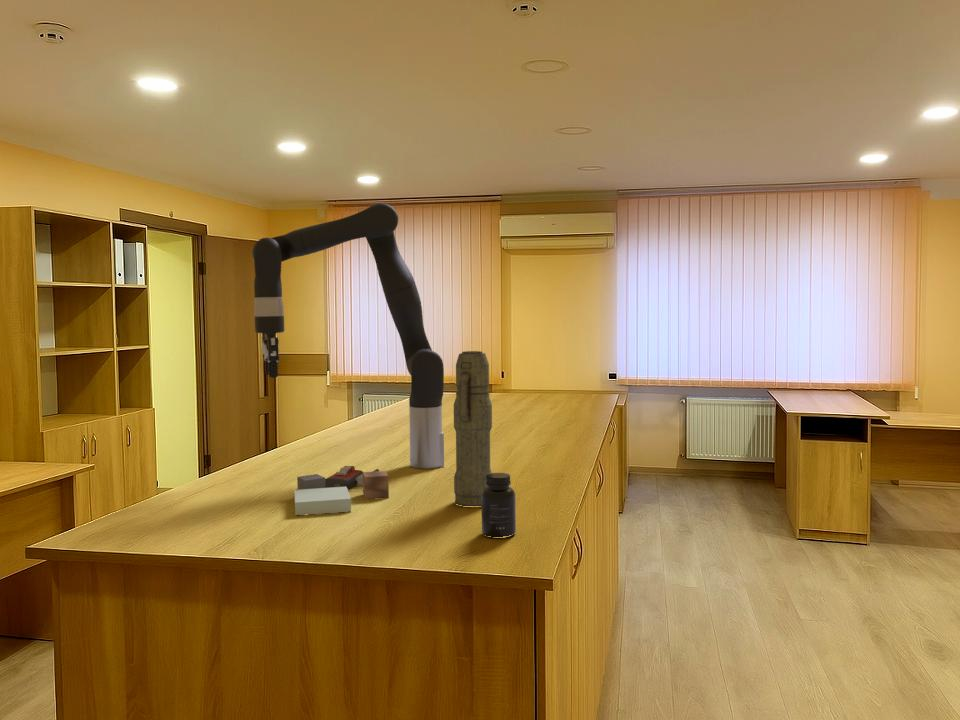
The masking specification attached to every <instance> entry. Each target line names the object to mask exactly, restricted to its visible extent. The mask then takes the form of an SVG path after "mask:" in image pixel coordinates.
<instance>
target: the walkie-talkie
mask: <svg viewBox="0 0 960 720" xmlns="http://www.w3.org/2000/svg"><path fill="white" fill-rule="evenodd" d="M355 468H356V467H355V465H345V466H343V467H341V468H340V469H339V471H336V472H335V473H334V474H332V475H330V476H328V477H327V478H326V477H325V488H331V487H347V489H349V490H350V489H352V488H354V487H355V486H362V485H361V484H363V472H364V471H363V470H361V469H360V470H359V469H355ZM375 471H380V470H379V469H378V468H376V469H375V470H372V472H375ZM353 486H354V487H353Z"/></svg>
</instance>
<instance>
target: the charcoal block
mask: <svg viewBox="0 0 960 720" xmlns="http://www.w3.org/2000/svg"><path fill="white" fill-rule="evenodd" d="M325 479H326V477H325V476H322V475H320V474H317V473H313V474H308V475H300V476H299V475H298V476H297V478H296V480H297V481H296V482H297V483H296V484H297V485H296V486H297V490H301V489H316V488H325Z"/></svg>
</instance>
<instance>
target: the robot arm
mask: <svg viewBox="0 0 960 720" xmlns="http://www.w3.org/2000/svg"><path fill="white" fill-rule="evenodd" d="M398 215H399V214H398V212H397V211H396V209H395V208H394V207H393V206H392V205H389V204H388V203H383V202H379V203H378V202H377V203H373V204H372V205H370V206H368V207H367V208H365V209H364V210H360V211H359V212H357V213H354V214H351V215H348V216H345V217H343V218H338V219H334V220H331V221H327V222H323V223H322V222H321V223H318V224H314V225H310V226H306V227H302V228H298V229H295V230H292V231H290V232H287V233H286V234H282V235H281V234H280V235H277V236H274V237H262V238H260V239H258V240H257V241H256V242H255V244H254V245H253V247H252V250H251V254H252V258H253V260H254V273H255V275H254V276H255V277H254V281H253V284H254V285H253V288H254V289H253V290H254V303H253V310H254V311H253V317H254V333H257V334H264V335H263V336H262V340H261V345H262V346H261V347H262V358H263V360H264V364H265V370H264V371H265V374H266V376H268V377H270V378H277V377H279V374H278V373H279V371H278V367H279V366H278V363H279V360H280V357H279V356H280V349H279V346H280V343H279V341H280V340H279V338H278V337H276V335H277V333H280V334H281V333H284V332H285V314H284V313H285V310H284V309H285V307H284V303H283V302H284V301H283V300H284V299H283V290H282V289H283V288H282V287H283V284H282V278H281V276H282V262H285V261H287V260H290V259H293V258H300V257H304V256H308V255H311V254H315V253H319V252H322V251H324V250H327V249H330V248H333V247H336V246H337V245H340V244H343V243H347V242H349V241H355V240H358V239H362V238H365V240H366V241H367V243H368V245H369V248H370V251H371V253H372V255H373V258H374V261H375V265H376V270H377V274H378V276H379V281H380V283H381V287H382V293H383V295H384V298H385V300H386V304H387V308H388V310H389V313H390V315H391V319H392V321H393V322H394V325H395V327H396V330H397V332H398V335H399V338H400V342H401V344H402V345H401V346H402V349H403V355H404V359H405V365H406V370H407V372H408V373H409V375H410V378H411V380H410V386H411V387H410V388H411V391H410V395H409V399H408V406H409V408H408V411H409V412H408V413H409V416H408V417H409V466H410V467H411V468H414V469H425V470H426V469H435V468H440V467H445V437H444V436H445V435H444V432H443V414H442V413H443V403H442V401H443V396H444V389H445V388H444V384H445V383H444V377H445V372H444V371H445V370H444V362H443V359H442V357H441V355H439V354H438V353H437V352H436V351H433V349H432V347H431V345H430V343H429V339H428V337H427V335H426V331H425V327H424V317H423V308H422V301H421V296H420V293H419V291H418V288H417V287H418V286H417V285H416V282H415V279H414V276H413V274H412V273H411V271H410V268H409V267H408V265H407V263H406V262H405V260H404V258H403V256H402V254H401V252H400V250H399V247H398V244H397V240H396V236H395V230H396V229H397V227H398V224H399V216H398Z"/></svg>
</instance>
